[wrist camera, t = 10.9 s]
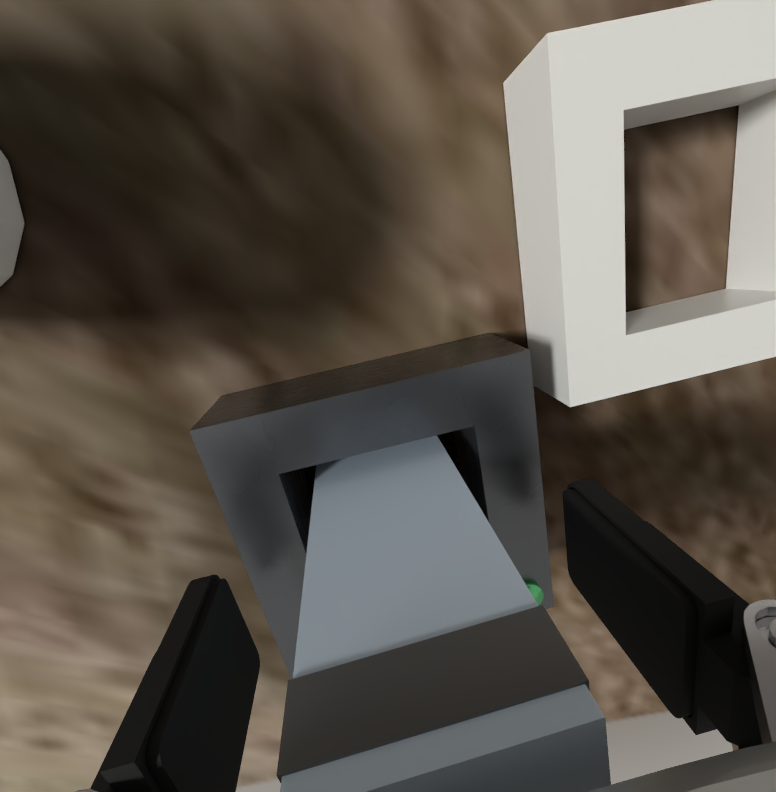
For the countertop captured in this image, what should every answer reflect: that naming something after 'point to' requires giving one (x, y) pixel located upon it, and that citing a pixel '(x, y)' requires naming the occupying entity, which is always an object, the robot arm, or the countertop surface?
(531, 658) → the plug
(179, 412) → the countertop surface
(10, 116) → the countertop surface
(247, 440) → the port
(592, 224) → the holster
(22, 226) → the white cup
